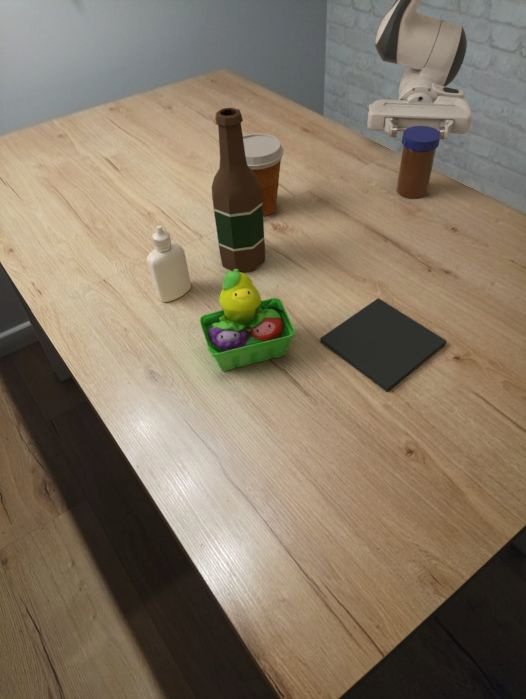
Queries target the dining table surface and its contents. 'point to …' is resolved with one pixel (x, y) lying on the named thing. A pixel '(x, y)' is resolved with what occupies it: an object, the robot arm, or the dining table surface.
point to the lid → (421, 138)
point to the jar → (415, 173)
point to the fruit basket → (246, 325)
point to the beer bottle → (237, 199)
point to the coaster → (383, 343)
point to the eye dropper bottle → (168, 267)
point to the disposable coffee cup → (264, 166)
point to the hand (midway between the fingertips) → (417, 134)
